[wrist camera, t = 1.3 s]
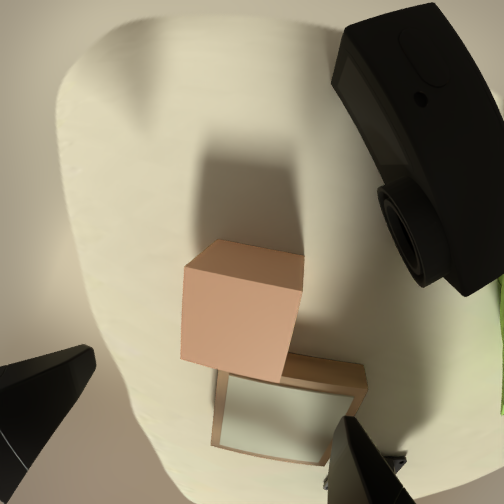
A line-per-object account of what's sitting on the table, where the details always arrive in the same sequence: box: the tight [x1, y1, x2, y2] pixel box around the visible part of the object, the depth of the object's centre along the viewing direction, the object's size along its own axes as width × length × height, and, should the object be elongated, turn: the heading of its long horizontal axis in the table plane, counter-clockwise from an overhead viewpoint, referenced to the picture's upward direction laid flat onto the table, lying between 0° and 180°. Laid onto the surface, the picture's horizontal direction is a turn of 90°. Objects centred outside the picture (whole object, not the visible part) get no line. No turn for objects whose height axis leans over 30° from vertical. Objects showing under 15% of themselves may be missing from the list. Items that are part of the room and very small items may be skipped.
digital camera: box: [331, 2, 504, 297], centre depth 11 cm, size 10×5×7 cm, turn 29°
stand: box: [211, 353, 368, 466], centre depth 18 cm, size 9×9×3 cm
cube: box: [180, 239, 305, 383], centre depth 15 cm, size 5×5×5 cm
